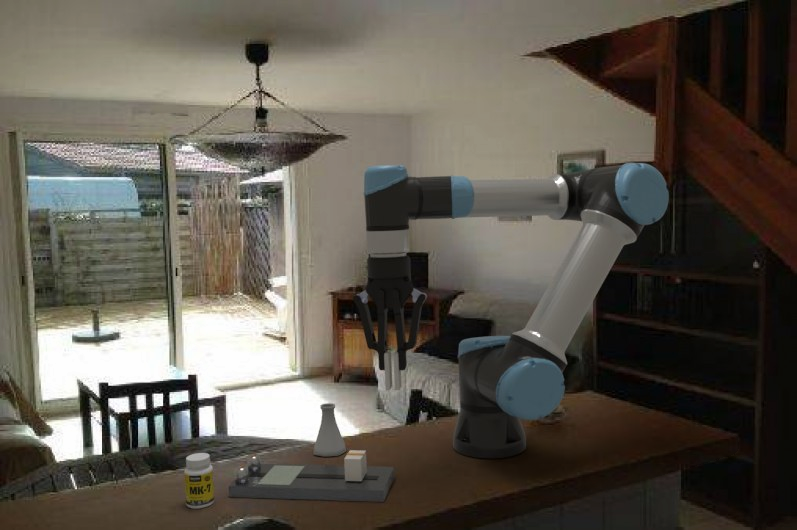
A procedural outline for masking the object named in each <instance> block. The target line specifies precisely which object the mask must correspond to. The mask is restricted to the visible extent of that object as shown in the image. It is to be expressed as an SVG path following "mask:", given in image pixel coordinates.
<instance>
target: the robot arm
mask: <svg viewBox="0 0 797 530" xmlns="http://www.w3.org/2000/svg"><path fill="white" fill-rule="evenodd" d="M363 176H364V179H363V184H364V185H363V196H364V197H363V198H364V212H365V238H366V239H365V240H366V241H365V243H366V254H368V255H369V257H367V259H366V263H367V265H366V266H367V269H366V271H367V282H366V285H365V287H364V288H365V290H363V291H362V292H360V293H357V294H355V295H353V297H352V300H353V302H354V304H355V305H356V307H357V308H358V311H359V315H360V316H359V317H360V320H361V325H362V329H363V333H364V338H365V343H366V346H367V349H369V350H374V351H376V352H377V354H378V355H377V356H378V370H379V371H384V380H385V381H384V387H385V391H390V390H391V389H392V388H393V373H394V391H400V390H401V388H402V385H403V384H402V383H403V382H402V371H405V370H406V369H407V366H408V365H407V351H410V350H413V349H414V348H415V347H416V345H417V342H418V336H419V327H420V321H421V316H422V315H421V314H422V311H423V310H422V309H423V305H424V303H425V301H426V300H427V298H428V294H427V293H426V292H421V291H420V290H418V289H417V288H415V285H414V283H413V281H412V277H411V276H412V273H411V269H412V268H411V257H410V256H409V255H408V254H407V253H410V252H411V248H410V247H411V245H410V220H411V221H415V220H444V219H452V220H454V219H458V218H460V219H461V218H463V219H464V218H495V217H498V218H499V217H501V218H503V217H532V216H533V217H535V216H536V217H537V216H540V217H541V216H548V218H549V219H550V220H554V221H562V220H563V221H566V220H567V221H574V222H575V221H576V222H582V226H581V229H580V230H579V232H578V233H577V235H576V237H575V238H574V241H573V242H572V244H571V246H570V248H569V249H568V251H567V253H566V255H565V256H564V257H563V258H564V259H563V260H562V262H561V263H560V264H559V267H558V269H557V271H556V272H555V274H554V275H553V277H552V279H551V281H550V283H549V285H548V287H547V288H546V290H545V291H544V293H543V295H542V297H541V299H540V301H539V302H538V303H537V306H536V307H535V310H534V311H533V313H532V315H531V316H530V318H529V319H528V322H527V323H526V325H525V327H524V328H523V329H522V330H518V331H514V332H512V333H511V334H510V335H491V336H490V335H488V336H478V337H470V338H464V339H462V340H461V341H460V342H459V343H458V351H457V352H458V353H457V359H458V377H459V379H458V381H459V406H460V407H459V409H460V410H459V413H458V416H457V420H456V424H455V426H454V431H453V434H452V446H453V447H452V448H453V449H454V450H455V451H456V452H457V453H458V454H462V455H463V456H467V457H470V458H479V459H503V458H509V457H510V458H511V457H513V456H517V455H519V454H521V453H522V452H524V451H525V450H526V449H527V436H526V433H525V430H524V426H523V424H522V421H521V420H526V421H535V420H538V419H543V418H545V417H547V416H548V415H550V414H551V413H552V412H554V410H556V409H557V407H558V406H559V405H560V403H561V401H562V400H563V398H564V395H565V388H566V386H565V383H564V382H565V378H564V374H563V373H564V371H565V369H566V367H567V366H568V361H567V358H566V355H565V352H566V350H567V349H568V346H569V344H570V343H571V341H572V339H573V337H574V336H575V333H576V331H578V329H579V327H580V325H581V323H582V321H583V319H584V317H585V316H586V314H587V312H588V310H589V308H590V307H591V305H592V304H593V302H594V300H595V298H596V296H597V294H598V292H599V291H600V289H601V287H602V285H603V283H604V282H605V280H606V278H607V277H608V275H609V273H610V270H611V269H612V267H613V266H614V264H615V262H616V260H617V258H618V256H619V255H620V253H621V251H622V250H623V247H624V246H625V245H630V244H633V243H635V242H636V241H637V239H638V237H639V236H640V234H641V232H642V230H643V229H644V227H645V226H648V225H652V224H654V223H655V222H658V221H659V220H661V218H662V217H663V216H664V215H665V213H666V211H667V209H668V205H669V200H670V197H669V196H670V195H669V190H668V188H667V185H668V184H667V182H666V179H665V177H664V176H663V174H662V173H661V172H660V171H659V170H658V169H657V168H656V167H654V166H652V165H651V164H648V163H645V162H638V163H637V162H636V163H635V162H626V163H624V164H621V165H620V164H619V165H609V166H603V167H600V166H599V167H595V168H590V169H585V170H581V171H576V172H575V171H574V172H569V173H553V174H552V175H550V176H549V177H548V178H541V179H540V178H538V179H537V178H529V179H526V178H525V179H523V178H522V179H517V178H516V179H515V178H514V179H469V178H468V177H466V176H461V175H459V176H458V175H457V176H456V175H453V174H452V175H447V176H445V175H444V176H441V175H440V176H438V175H437V176H420V177H419V176H418V177H417V176H409V174H408V171H407V167H406V166H405V165H403V164H402V165H401V164H400V165H399V164H398V165H396V164H384V165H373V166H370V167H367V169H366V170H365V171H364V175H363ZM410 296H412V298H411V299H412V303H414V304H413V307H412V308H413V309H412V313H411V314H412V315H411V320H410V327H409V333H408V334H409V335H408V339H407V338H406V326H405V316H404V315H405V314H404V306H405V304H406V303H407V301H408V299H409V298H410ZM369 298H370V299H371V301H372V302H373V303H374V304H375V305H376V308H377V339H376V334H375V333H376V332H375V330H374V326H373V321H372V315H371V313H370V308H369V305H368V302H369ZM389 308H390V309H393V310H392V311H393V314H394V323H395V336H396V346H397V348H396V350H394V352H393V366H392V350H391V349H390V350H389V349H388V347H389V346H388V312H389V311H388V309H389ZM387 349H388V350H387ZM392 367H393V368H392Z"/></svg>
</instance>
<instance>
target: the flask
mask: <svg viewBox="0 0 797 530" xmlns="http://www.w3.org/2000/svg"><path fill="white" fill-rule="evenodd" d="M335 408H336V404H335V403H332V402H326V403H325V402H324V403H322V404H321V405H320V410H321V414H322V415H321V421H320V426H319V430H318V433H317V437H316V440H315V442H314V447H313V451H312V452H313V453H312V454H313V455H314V456H319V457H325V458H326V457H327V458H328V457H338V456H340V455H342V454H344V453H347V446H346V444H345V441H344V438H343V436H342V433H341V431H340V429H339V426H338V423H337V420H336V415H335Z"/></svg>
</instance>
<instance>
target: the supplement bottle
mask: <svg viewBox="0 0 797 530" xmlns="http://www.w3.org/2000/svg"><path fill="white" fill-rule="evenodd" d="M185 463H186V468H185V469H184V488H185V489H184V490H185V492H184V493H185V505H186V506H187V507H188V508H189V509H190V508H191V509H194V510H195V509H197V510H198V509H203V508H206V507H209V506H211V505H213V503H214V502H215V488H214V486H215V485H214V469H213V466H212V464H211V456H210V454H209V453H206V452H198V453H197V452H196V453H192V454H189V455H188V456H186V458H185Z"/></svg>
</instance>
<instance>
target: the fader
mask: <svg viewBox="0 0 797 530" xmlns="http://www.w3.org/2000/svg"><path fill="white" fill-rule="evenodd" d="M343 460H344V461H343V462H344V463H343V466H344V467H345V481H362V480H363V478H364V476H365V474H366V473H367V451H366V450H361V449H359V450H352V449H351V450H349V451H348V452H346V455H345V457H344V459H343Z"/></svg>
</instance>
